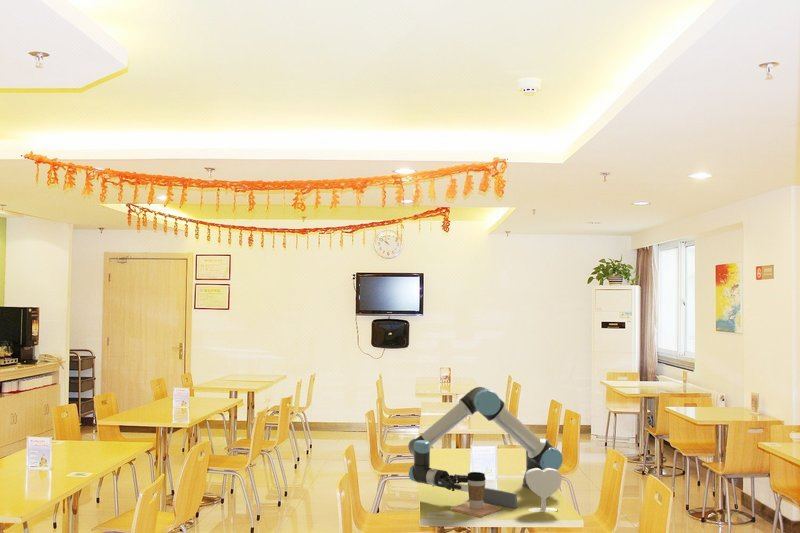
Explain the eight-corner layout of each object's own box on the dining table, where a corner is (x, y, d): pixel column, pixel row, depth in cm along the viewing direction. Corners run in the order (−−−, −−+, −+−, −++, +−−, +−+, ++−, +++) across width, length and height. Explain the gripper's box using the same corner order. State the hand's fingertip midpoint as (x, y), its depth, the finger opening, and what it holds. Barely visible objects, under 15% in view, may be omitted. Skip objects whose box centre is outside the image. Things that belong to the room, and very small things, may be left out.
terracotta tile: (471, 502, 314) (471, 500, 314) (501, 509, 303) (501, 506, 303) (451, 510, 301) (451, 507, 302) (481, 517, 291) (481, 515, 291)
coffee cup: (470, 510, 298) (470, 475, 298) (464, 505, 306) (464, 471, 307) (488, 509, 300) (488, 474, 301) (481, 503, 308) (481, 470, 309)
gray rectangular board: (472, 497, 321) (472, 485, 322) (516, 507, 306) (516, 493, 306) (470, 498, 320) (470, 485, 321) (515, 508, 305) (515, 494, 305)
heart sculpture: (559, 508, 305) (558, 467, 306) (562, 511, 300) (562, 470, 301) (525, 508, 304) (524, 467, 305) (527, 511, 299) (527, 470, 300)
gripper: (453, 481, 326) (491, 488, 312) (421, 491, 306) (460, 500, 293) (453, 465, 326) (491, 472, 312) (421, 474, 307) (460, 482, 293)
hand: (476, 485), depth 303 cm, fingers open, 13 cm apart
